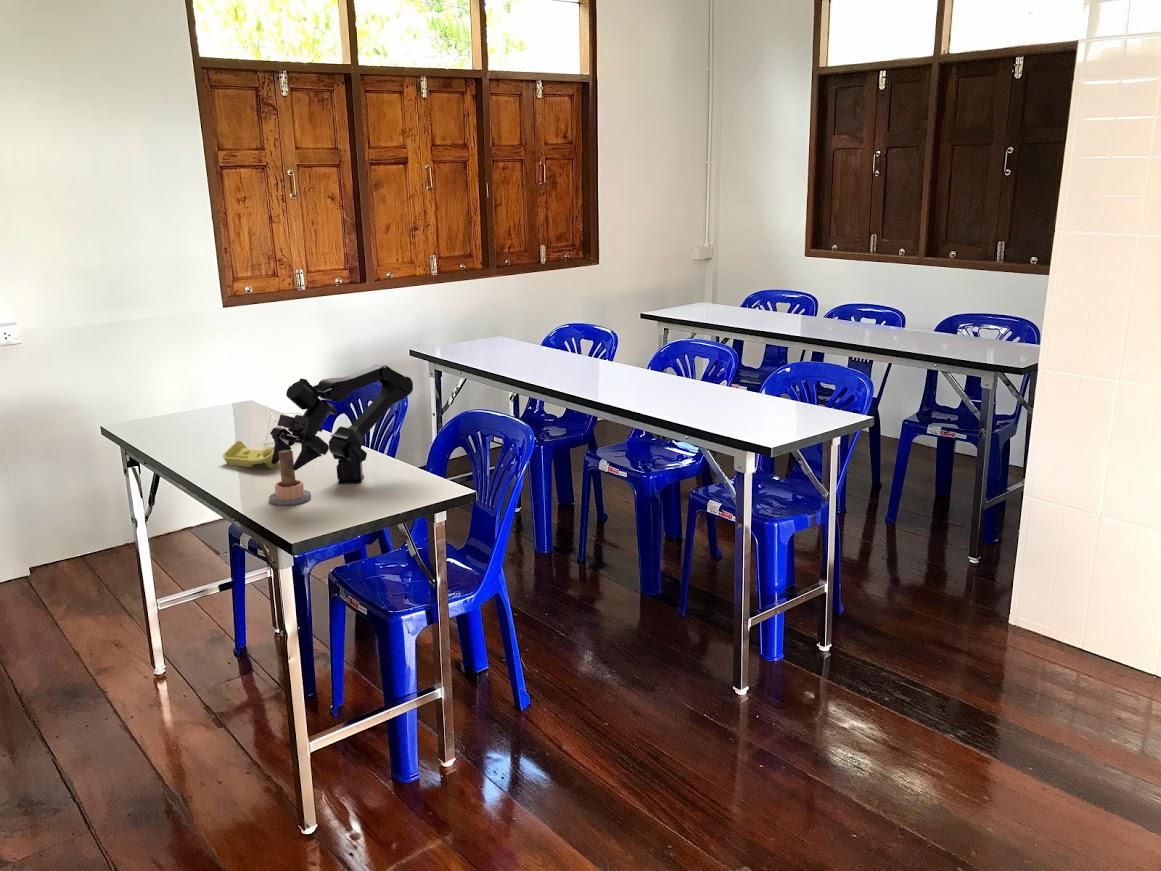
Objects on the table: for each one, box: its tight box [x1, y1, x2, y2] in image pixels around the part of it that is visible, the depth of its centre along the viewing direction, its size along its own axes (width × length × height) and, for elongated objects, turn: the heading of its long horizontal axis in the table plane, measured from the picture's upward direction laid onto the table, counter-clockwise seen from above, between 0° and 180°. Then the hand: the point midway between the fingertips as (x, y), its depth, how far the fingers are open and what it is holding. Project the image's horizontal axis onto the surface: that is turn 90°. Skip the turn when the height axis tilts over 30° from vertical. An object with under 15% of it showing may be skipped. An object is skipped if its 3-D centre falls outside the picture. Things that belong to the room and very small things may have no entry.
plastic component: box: [222, 440, 279, 469], centre depth 296 cm, size 20×7×10 cm
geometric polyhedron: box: [264, 412, 303, 445], centre depth 322 cm, size 12×11×9 cm
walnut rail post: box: [278, 449, 296, 487], centre depth 262 cm, size 4×4×12 cm
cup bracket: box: [268, 478, 312, 507], centre depth 263 cm, size 11×11×4 cm
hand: (283, 466), depth 261 cm, fingers open, 9 cm apart
